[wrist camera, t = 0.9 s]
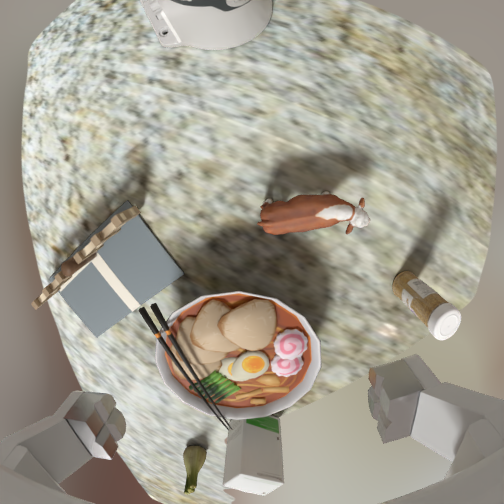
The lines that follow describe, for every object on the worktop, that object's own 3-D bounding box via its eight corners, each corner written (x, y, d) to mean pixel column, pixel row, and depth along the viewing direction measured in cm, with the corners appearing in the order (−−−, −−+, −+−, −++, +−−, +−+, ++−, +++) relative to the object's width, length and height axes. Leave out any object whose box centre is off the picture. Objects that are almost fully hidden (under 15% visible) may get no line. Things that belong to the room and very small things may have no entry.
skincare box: (280, 417, 50) (287, 483, 36) (262, 434, 52) (265, 496, 37) (242, 404, 49) (241, 473, 34) (226, 422, 51) (221, 487, 36)
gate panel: (100, 249, 39) (78, 264, 33) (95, 242, 39) (72, 256, 32) (140, 212, 38) (121, 222, 31) (135, 205, 37) (115, 214, 31)
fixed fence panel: (58, 291, 42) (35, 309, 35) (53, 285, 41) (31, 303, 35) (86, 262, 40) (62, 280, 33) (81, 256, 40) (57, 273, 33)
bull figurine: (354, 220, 39) (377, 235, 31) (256, 226, 39) (258, 243, 31) (354, 188, 38) (378, 196, 30) (254, 193, 38) (256, 201, 30)
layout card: (50, 278, 41) (48, 279, 41) (127, 200, 38) (126, 200, 37) (97, 336, 45) (96, 337, 44) (184, 273, 41) (183, 274, 41)
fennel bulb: (194, 456, 55) (188, 497, 44) (178, 446, 54) (170, 488, 42) (212, 449, 54) (208, 493, 43) (196, 439, 53) (190, 484, 41)
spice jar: (386, 291, 42) (428, 337, 30) (400, 265, 41) (448, 305, 28) (406, 299, 43) (449, 344, 30) (420, 275, 42) (467, 314, 29)
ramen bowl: (328, 370, 47) (339, 403, 39) (206, 404, 49) (201, 437, 41) (284, 237, 40) (293, 257, 32) (137, 290, 42) (117, 317, 34)
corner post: (84, 250, 40) (58, 267, 33) (92, 242, 39) (66, 259, 32) (92, 260, 40) (67, 279, 33) (99, 253, 40) (75, 271, 33)
